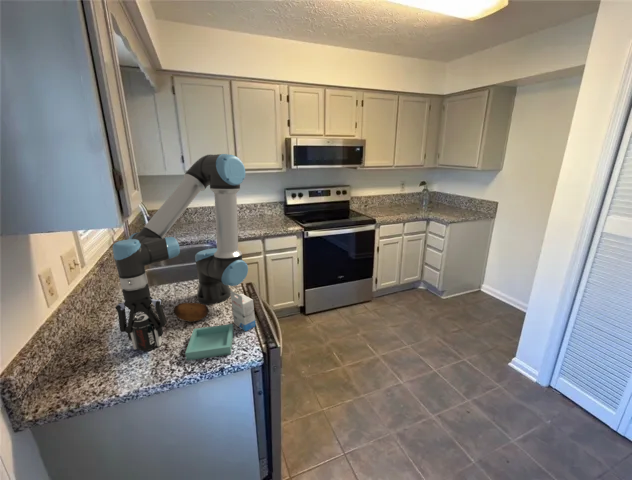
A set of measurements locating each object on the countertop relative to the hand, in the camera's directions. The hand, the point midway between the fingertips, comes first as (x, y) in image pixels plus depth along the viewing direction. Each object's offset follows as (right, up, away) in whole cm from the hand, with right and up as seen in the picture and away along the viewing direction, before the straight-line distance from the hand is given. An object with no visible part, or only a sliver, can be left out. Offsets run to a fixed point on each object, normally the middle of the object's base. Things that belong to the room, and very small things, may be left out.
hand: (148, 345), depth 103 cm
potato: (+9, +4, +16) cm, 19 cm away
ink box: (+31, +4, +12) cm, 34 cm away
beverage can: (0, -1, 0) cm, 1 cm away
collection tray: (+22, 0, 0) cm, 22 cm away
